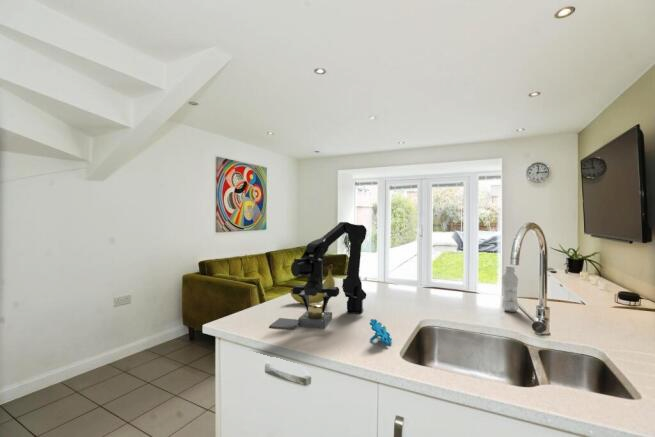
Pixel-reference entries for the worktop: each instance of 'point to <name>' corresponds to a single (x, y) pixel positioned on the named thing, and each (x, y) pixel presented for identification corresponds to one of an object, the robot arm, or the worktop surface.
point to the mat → (285, 323)
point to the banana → (319, 297)
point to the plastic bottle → (510, 290)
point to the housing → (315, 320)
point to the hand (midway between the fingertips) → (315, 311)
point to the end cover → (315, 310)
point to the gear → (380, 332)
